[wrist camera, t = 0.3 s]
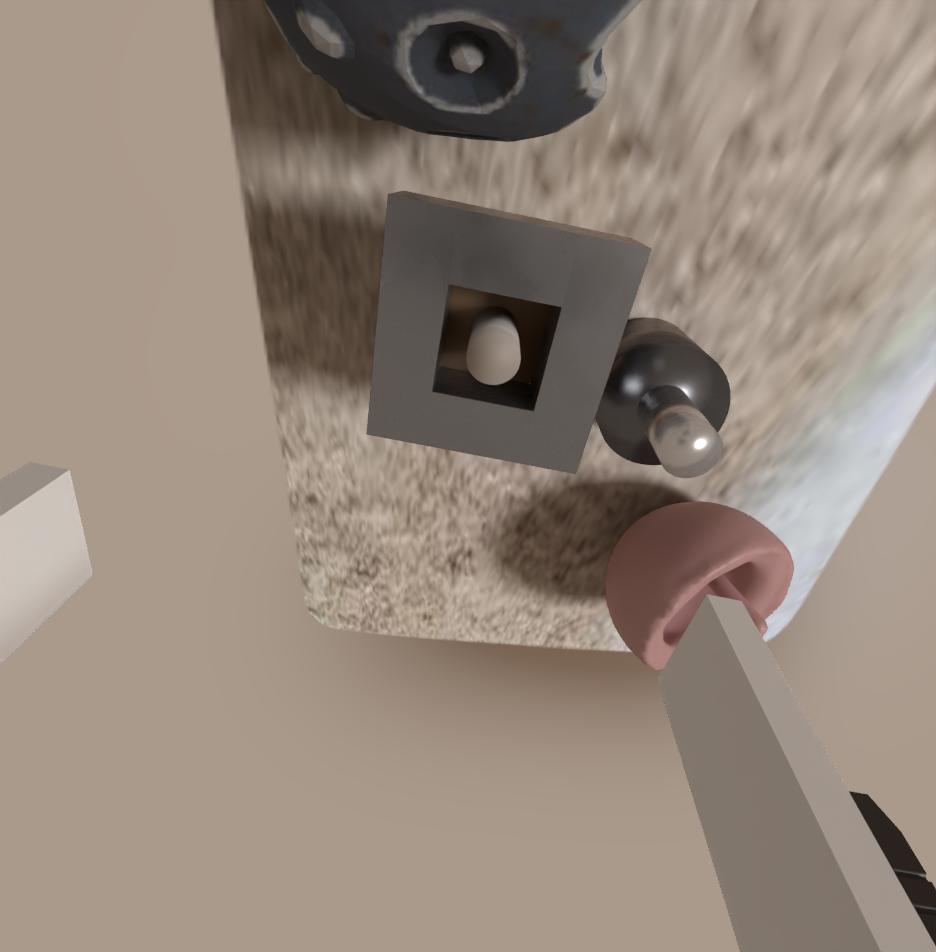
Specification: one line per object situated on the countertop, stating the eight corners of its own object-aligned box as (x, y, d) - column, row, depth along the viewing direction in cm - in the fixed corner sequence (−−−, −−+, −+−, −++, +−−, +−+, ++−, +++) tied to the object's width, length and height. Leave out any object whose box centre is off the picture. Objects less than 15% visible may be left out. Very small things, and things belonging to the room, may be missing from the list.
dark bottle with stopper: (602, 307, 32) (645, 366, 22) (713, 329, 32) (801, 397, 22) (570, 411, 35) (595, 499, 26) (670, 430, 35) (730, 525, 26)
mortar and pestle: (707, 608, 43) (766, 736, 34) (571, 575, 43) (591, 697, 33) (787, 492, 37) (888, 607, 28) (631, 451, 36) (677, 555, 27)
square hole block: (403, 190, 22) (387, 193, 19) (631, 238, 22) (651, 248, 19) (381, 404, 27) (366, 434, 24) (567, 440, 28) (575, 473, 24)
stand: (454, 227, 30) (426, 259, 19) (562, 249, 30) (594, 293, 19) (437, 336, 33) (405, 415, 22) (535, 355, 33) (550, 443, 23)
